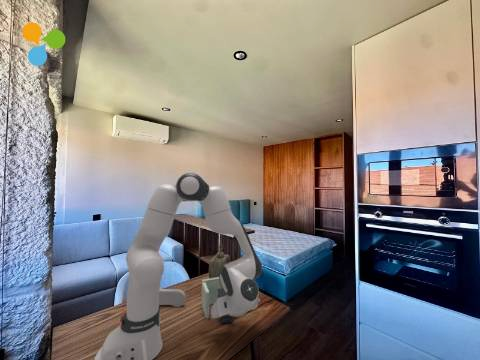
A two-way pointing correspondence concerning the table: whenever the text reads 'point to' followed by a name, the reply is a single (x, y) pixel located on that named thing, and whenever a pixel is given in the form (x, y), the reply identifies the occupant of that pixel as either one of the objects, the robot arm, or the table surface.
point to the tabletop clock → (218, 263)
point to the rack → (209, 293)
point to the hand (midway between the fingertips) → (230, 312)
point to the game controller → (171, 297)
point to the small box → (226, 318)
